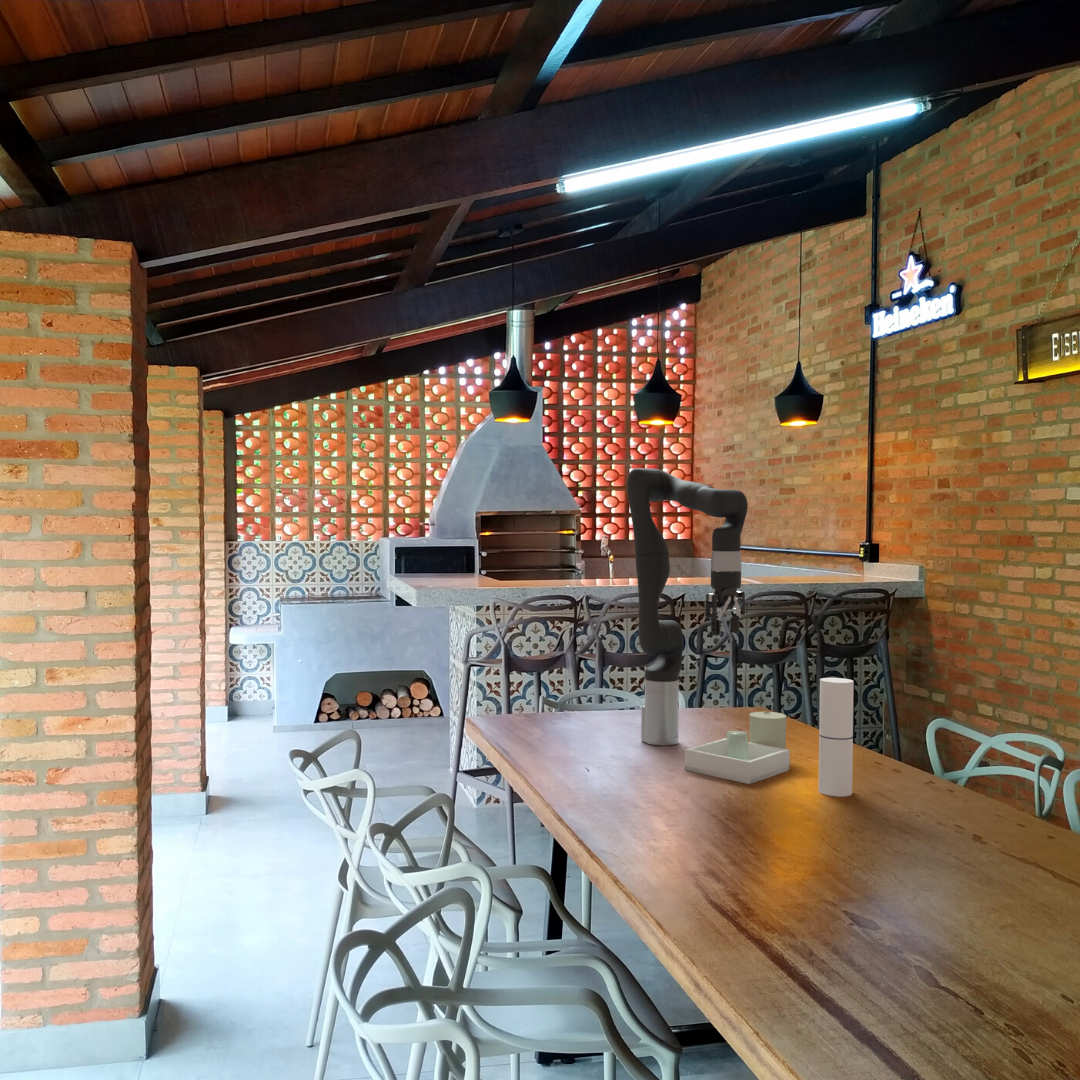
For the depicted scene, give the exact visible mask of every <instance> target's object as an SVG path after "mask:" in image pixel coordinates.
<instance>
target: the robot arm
mask: <svg viewBox="0 0 1080 1080" xmlns="http://www.w3.org/2000/svg"><path fill="white" fill-rule="evenodd" d="M626 493H627V500H628V504H629V510H630V516H631V521H632V530H633V531H632V532H633V539H634V556H635V557H634V559H635V569H636V571H635V572H636V578H637V579H636V580H637V592H638V640H639V641H638V642H639V646H640V648H641V651H642V652H643V653H644V654H645V655H647V656H657V655H658V658H657V659H656V661H654V662H653V664H651V665H649V666H647V667H646V668H645V670H644V705H642V706H641V714H640V715H641V717H640V718H641V723H640V724H641V727H640V728H641V730H640V733H641V734H640V737H641V738H640V739H641V742H644V743H645V744H649V745H652V746H654V745H655V746H674V745H677V744H679V716H680V715H679V714H680V713H679V710H680V707H679V705H680V704H679V702H680V701H679V700H680V697H679V695H680V694H679V692H680V691H679V689H680V684H679V683H680V682H679V681H680V672H681V669H682V664H683V651H684V649H683V648H684V637H683V630H682V628H681V625H680V624H679V622H677V621H676V620H671V619H666V620H665V619H663V620H659V604H660V603H659V602H660V599H661V596H662V593H663V591H664V589H665V586H666V584H667V582H668V580H669V577H670V574H671V567H670V566H671V565H670V563H671V562H670V552H669V547H668V544H667V542H666V540H665V538H664V536H663V535H662V533H661V531H660V530H659V529H658V526H657V525H656V523H655V522H654V519H653V517H652V516H653V515H652V512H651V505H650V503H656V502H663V501H664V502H665V501H666V502H667V501H668V502H677V503H678V504H680V505H681V506H683V507H685V508H687V509H691V510H694V511H698V512H702V513H703V514H706V515H707V516H709V517H713V518H725V519H724V522H723V525H721V526H719V527H717V528H714V529H713V530H712V538H711V556H710V587H711V588H712V589H714V592H713V593H709V592H708V593H706V596H705V617H706V618H708V619H709V620H710V622H711V623H710V631H711V632H710V633H711V636H716V637H717V636H720V635H721V618H722V616H723V614H725V612H726V611H727V612H728V613H729V616H730V623H729V624H730V625H729V628H730V629H729V631H730V633H735V634H738V633H739V632H740V618H742V616H744V615H745V614H746V597H745V596H746V595H745V594H746V593H745V591H739V590H738V589H741V588H742V552H741V546H742V545H741V540H742V539H741V537H742V532H743V529H744V525H745V522H746V521H745V520H746V517H747V514H748V506H749V504H748V503H749V502H748V499H747V496H746V494H745V493H744V492H743V491H742V490H739V489H720V488H715V487H714V486H712V485H709V484H706V483H705V484H704V483H700V482H696V481H691V480H690V481H689V480H684V479H681V478H679V477H677V476H674V475H672V474H670V473H668V472H666V471H665V470H663V469H658V468H647V467H646V468H643V467H635V468H633V469H632V470H631V471H630V472H629V474H628V476H627V479H626Z"/></svg>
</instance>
